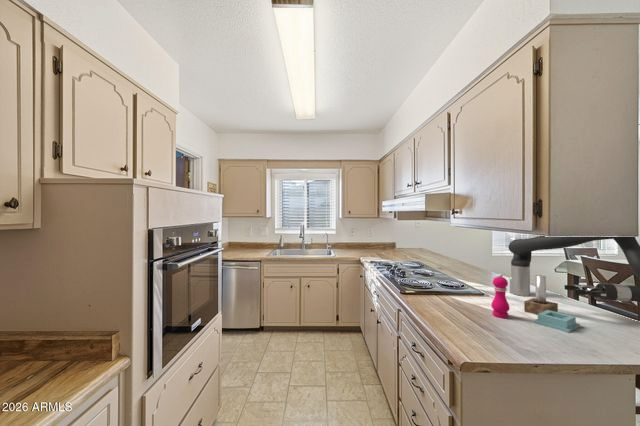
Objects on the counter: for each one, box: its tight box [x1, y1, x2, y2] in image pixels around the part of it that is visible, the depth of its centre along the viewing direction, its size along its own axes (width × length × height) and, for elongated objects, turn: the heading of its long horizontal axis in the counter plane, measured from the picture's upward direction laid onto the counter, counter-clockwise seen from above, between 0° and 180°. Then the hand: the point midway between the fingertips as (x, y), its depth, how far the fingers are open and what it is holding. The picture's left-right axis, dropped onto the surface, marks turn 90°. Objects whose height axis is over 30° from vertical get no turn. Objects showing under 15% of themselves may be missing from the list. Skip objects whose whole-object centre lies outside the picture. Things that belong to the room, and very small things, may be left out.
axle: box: [535, 274, 547, 305], centre depth 135 cm, size 4×4×18 cm
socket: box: [533, 310, 581, 333], centre depth 120 cm, size 12×12×4 cm
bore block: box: [523, 297, 559, 316], centre depth 135 cm, size 10×10×5 cm
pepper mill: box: [491, 273, 511, 319], centre depth 130 cm, size 7×7×20 cm
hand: (569, 289), depth 131 cm, fingers open, 8 cm apart
